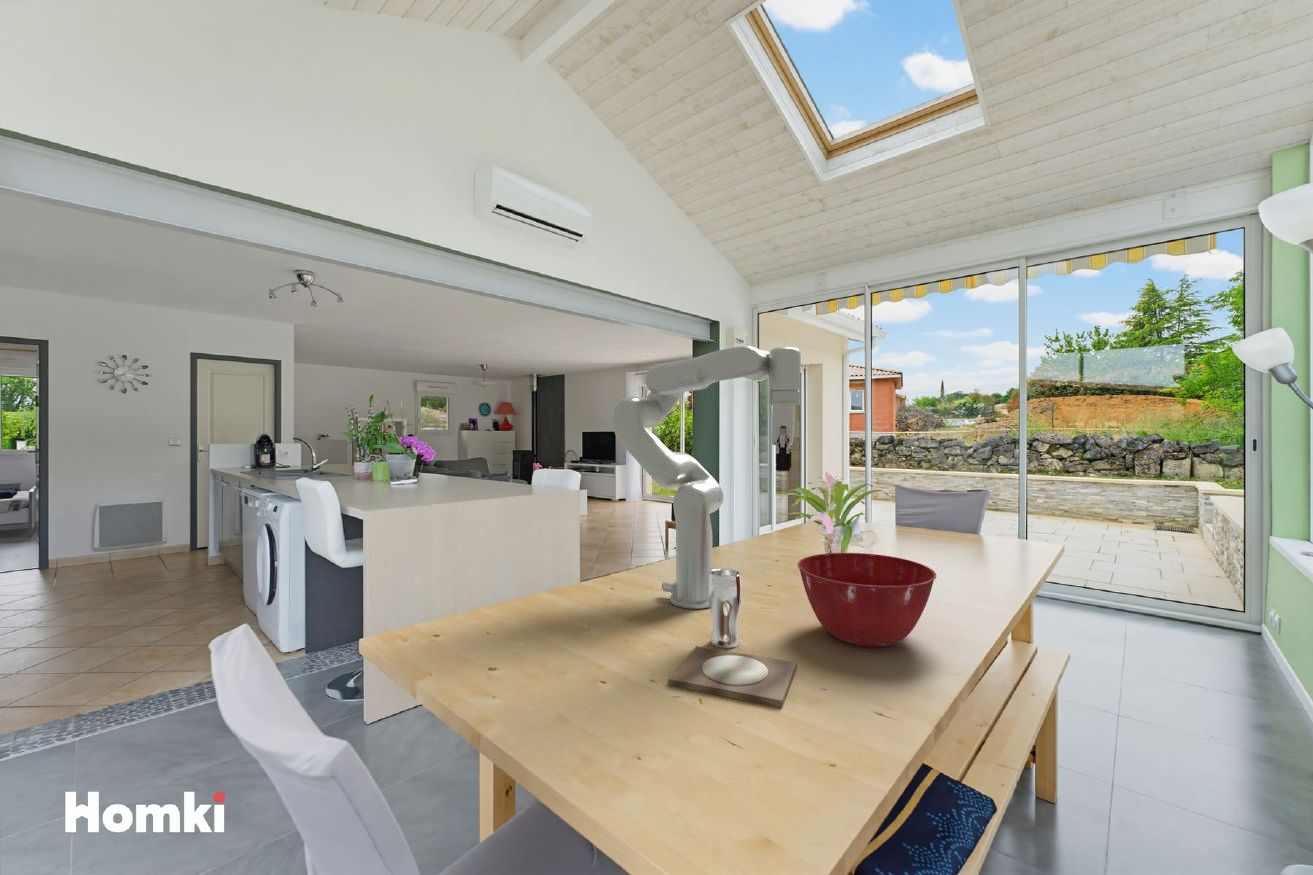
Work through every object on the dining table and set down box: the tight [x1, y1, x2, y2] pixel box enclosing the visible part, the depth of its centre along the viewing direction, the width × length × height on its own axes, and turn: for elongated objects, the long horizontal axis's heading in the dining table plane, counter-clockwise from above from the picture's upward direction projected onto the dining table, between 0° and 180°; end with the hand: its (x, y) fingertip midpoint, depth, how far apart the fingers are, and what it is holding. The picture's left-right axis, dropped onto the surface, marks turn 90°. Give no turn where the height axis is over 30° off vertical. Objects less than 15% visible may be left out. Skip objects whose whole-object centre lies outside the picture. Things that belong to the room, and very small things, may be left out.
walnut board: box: [667, 645, 798, 709], centre depth 101 cm, size 20×16×2 cm
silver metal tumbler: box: [709, 568, 743, 649], centre depth 117 cm, size 7×7×15 cm
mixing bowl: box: [796, 552, 937, 648], centre depth 122 cm, size 28×28×16 cm
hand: (783, 469), depth 134 cm, fingers open, 9 cm apart
